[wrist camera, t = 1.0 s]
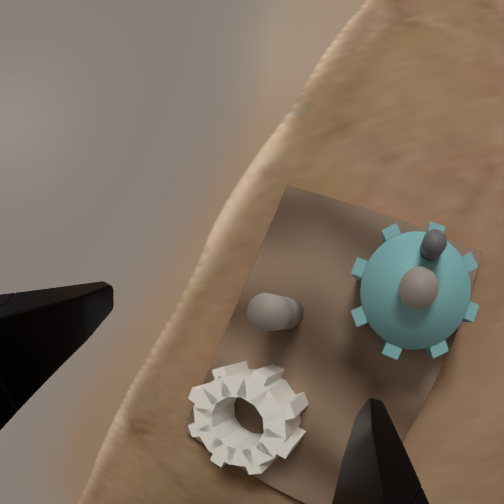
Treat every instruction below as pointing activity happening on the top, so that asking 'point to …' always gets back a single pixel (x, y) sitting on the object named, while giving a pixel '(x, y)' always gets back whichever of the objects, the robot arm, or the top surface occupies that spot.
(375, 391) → the gear board
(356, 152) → the top surface
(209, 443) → the off-white gear
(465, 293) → the teal gear
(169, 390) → the top surface
